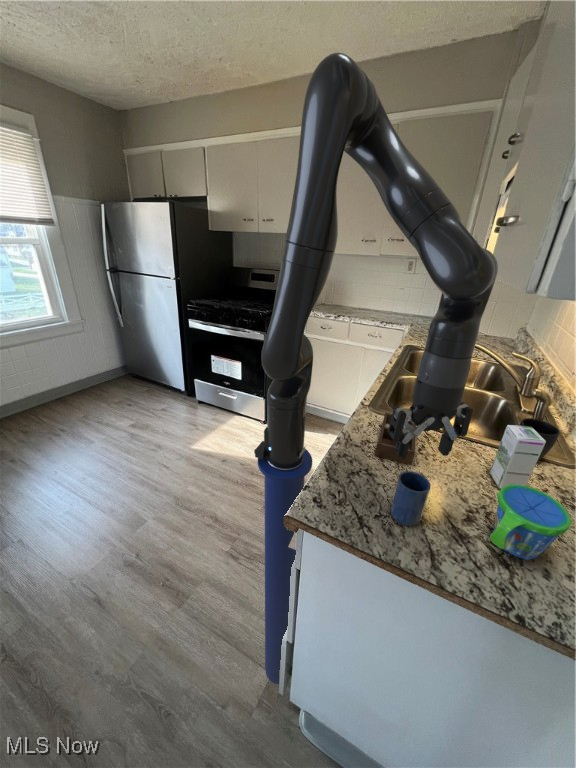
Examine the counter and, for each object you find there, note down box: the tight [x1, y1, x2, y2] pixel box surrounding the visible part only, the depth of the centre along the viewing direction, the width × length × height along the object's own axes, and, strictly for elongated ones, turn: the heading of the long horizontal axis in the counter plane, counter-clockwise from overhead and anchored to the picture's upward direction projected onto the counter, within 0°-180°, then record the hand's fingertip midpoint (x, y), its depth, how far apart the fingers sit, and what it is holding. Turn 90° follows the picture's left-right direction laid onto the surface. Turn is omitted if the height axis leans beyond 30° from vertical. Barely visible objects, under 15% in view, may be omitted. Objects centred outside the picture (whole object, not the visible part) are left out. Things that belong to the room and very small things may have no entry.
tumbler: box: [390, 470, 431, 527], centre depth 64 cm, size 6×6×9 cm
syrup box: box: [489, 424, 546, 490], centre depth 73 cm, size 6×6×14 cm
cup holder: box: [375, 412, 417, 466], centre depth 88 cm, size 9×17×4 cm, turn 158°
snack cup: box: [489, 484, 572, 561], centre depth 58 cm, size 16×10×10 cm
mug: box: [503, 417, 561, 463], centre depth 84 cm, size 8×12×10 cm
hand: (421, 454), depth 59 cm, fingers open, 8 cm apart
